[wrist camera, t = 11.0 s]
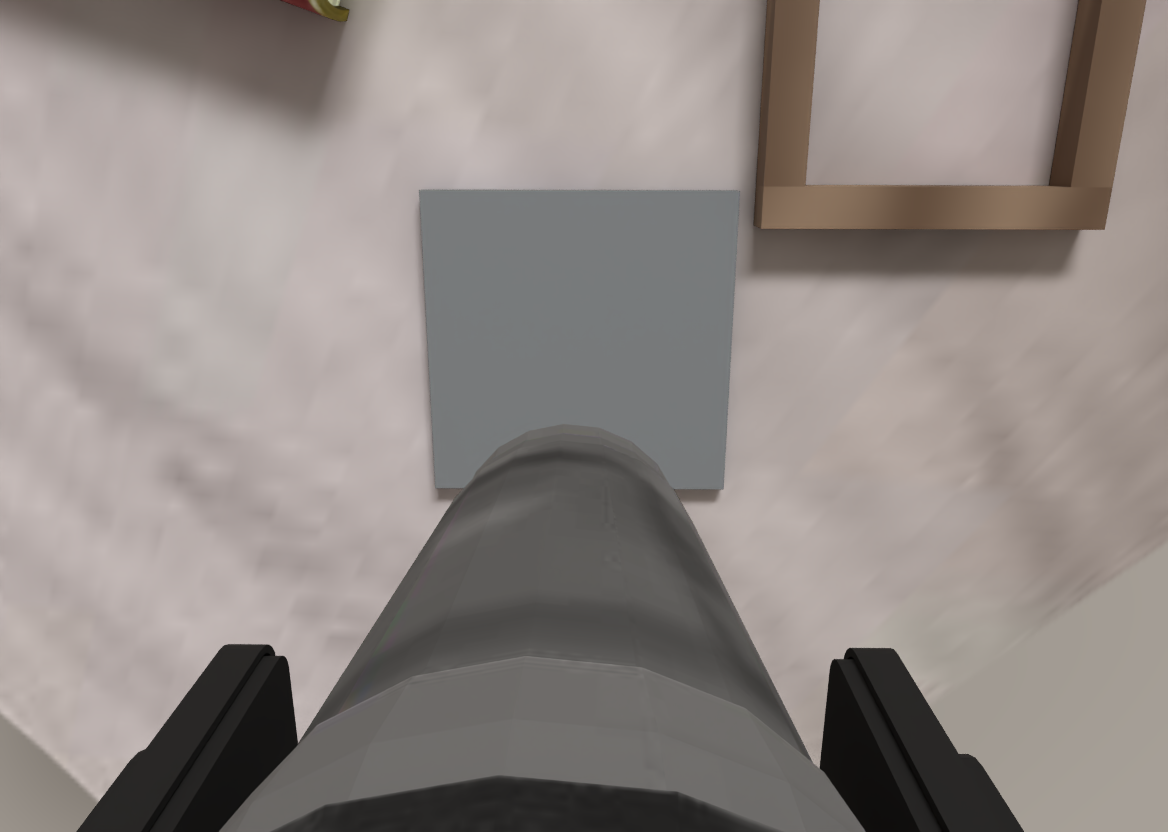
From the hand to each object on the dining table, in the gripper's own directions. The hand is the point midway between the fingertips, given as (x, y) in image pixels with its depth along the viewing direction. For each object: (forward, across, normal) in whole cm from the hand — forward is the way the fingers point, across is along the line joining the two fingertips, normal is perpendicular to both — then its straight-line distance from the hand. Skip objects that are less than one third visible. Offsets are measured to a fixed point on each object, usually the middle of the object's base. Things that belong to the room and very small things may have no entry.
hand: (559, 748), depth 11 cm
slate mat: (+24, 0, 0) cm, 24 cm away
